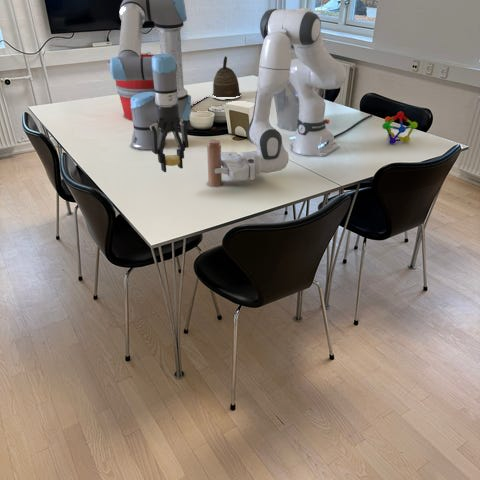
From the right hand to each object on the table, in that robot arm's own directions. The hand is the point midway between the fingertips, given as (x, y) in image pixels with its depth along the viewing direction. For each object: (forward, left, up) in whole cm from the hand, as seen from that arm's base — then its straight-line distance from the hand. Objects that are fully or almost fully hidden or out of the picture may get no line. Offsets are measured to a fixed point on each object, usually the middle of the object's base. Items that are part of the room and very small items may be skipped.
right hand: (212, 167), depth 167 cm
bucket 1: (-30, -96, -7) cm, 101 cm away
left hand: (+15, -5, +2) cm, 16 cm away
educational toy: (-95, +21, -7) cm, 97 cm away
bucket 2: (-79, -29, -7) cm, 84 cm away
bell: (-88, -96, -7) cm, 131 cm away
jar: (-1, 0, -7) cm, 7 cm away
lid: (+15, -5, +6) cm, 17 cm away
